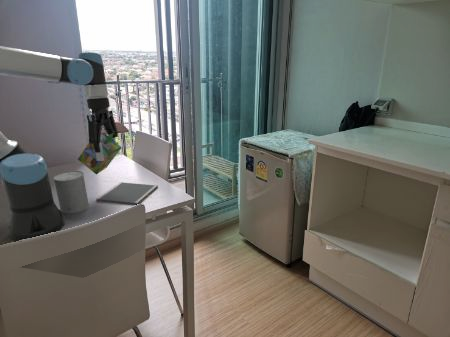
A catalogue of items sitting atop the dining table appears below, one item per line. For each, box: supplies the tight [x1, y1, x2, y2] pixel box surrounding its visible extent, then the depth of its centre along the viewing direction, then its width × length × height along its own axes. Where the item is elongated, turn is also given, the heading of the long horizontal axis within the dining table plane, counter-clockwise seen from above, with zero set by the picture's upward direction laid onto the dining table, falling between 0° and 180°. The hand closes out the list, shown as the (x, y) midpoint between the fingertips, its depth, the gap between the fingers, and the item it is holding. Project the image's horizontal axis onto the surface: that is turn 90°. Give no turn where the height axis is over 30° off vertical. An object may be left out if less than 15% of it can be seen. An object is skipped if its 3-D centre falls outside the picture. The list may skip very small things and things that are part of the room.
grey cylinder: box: [53, 170, 90, 214], centre depth 115 cm, size 10×10×12 cm
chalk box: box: [77, 132, 123, 175], centre depth 124 cm, size 9×9×15 cm
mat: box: [95, 181, 159, 206], centre depth 128 cm, size 17×17×1 cm
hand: (107, 157), depth 124 cm, fingers closed on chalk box, 9 cm apart
